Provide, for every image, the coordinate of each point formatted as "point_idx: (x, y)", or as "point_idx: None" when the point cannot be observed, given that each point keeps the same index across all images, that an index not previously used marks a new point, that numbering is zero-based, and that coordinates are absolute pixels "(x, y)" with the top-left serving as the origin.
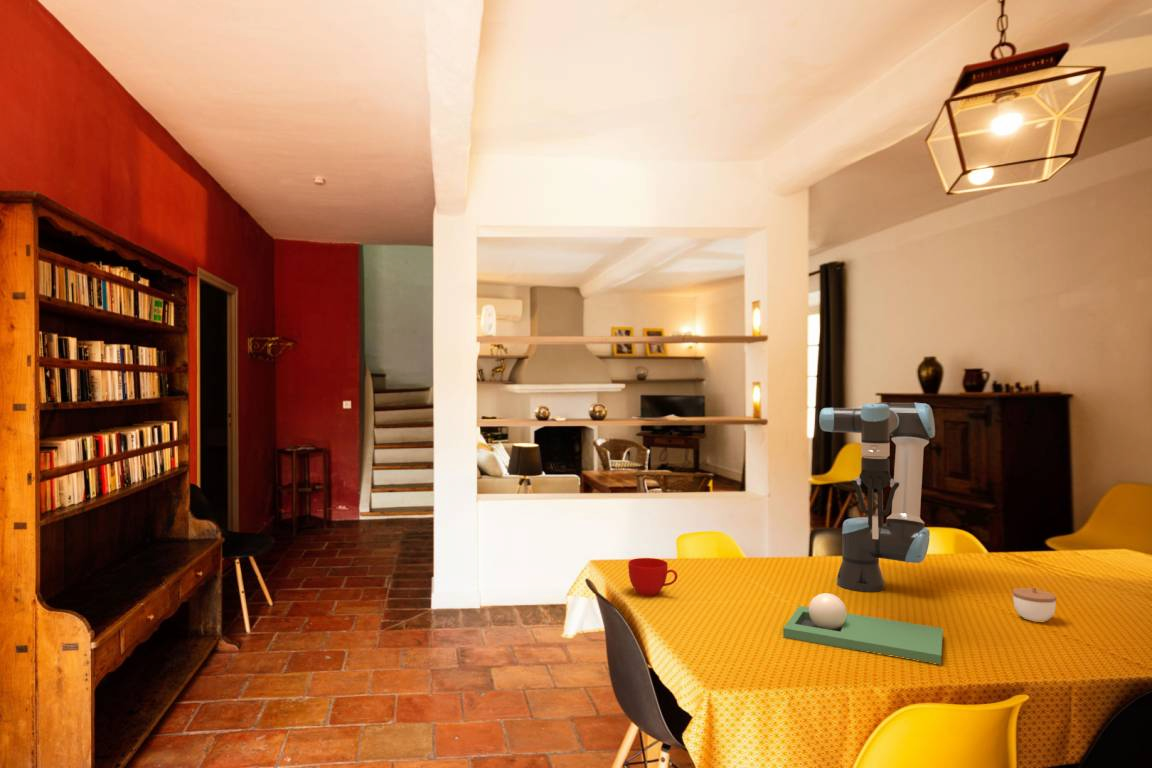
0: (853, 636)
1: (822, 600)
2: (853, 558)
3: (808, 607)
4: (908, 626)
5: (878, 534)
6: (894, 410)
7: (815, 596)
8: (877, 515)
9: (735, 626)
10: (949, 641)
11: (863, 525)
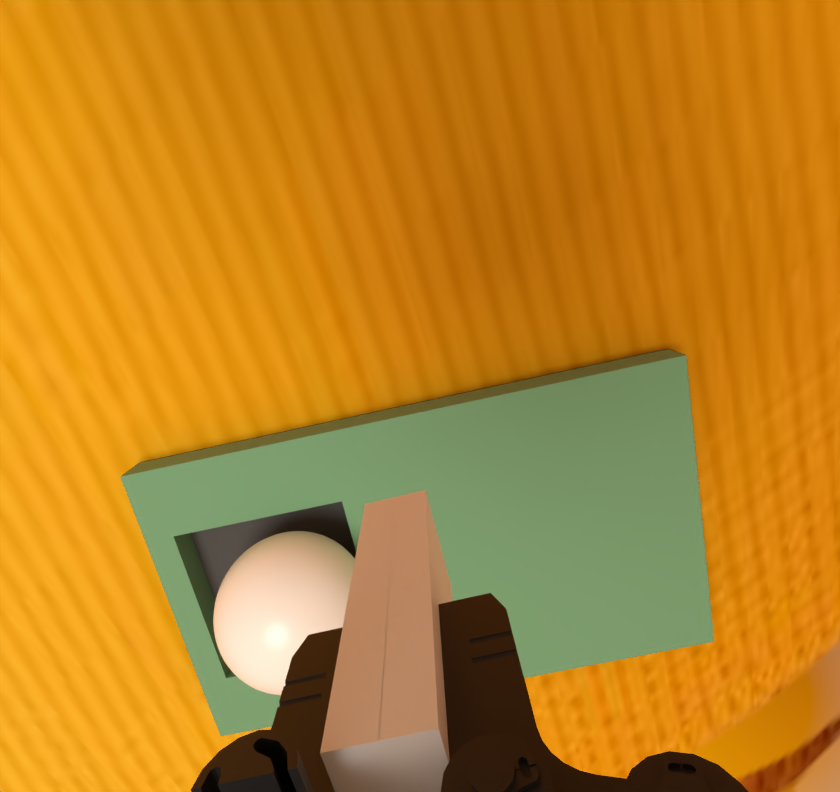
0: None
1: (280, 694)
2: None
3: (160, 472)
4: (566, 430)
5: (431, 528)
6: None
7: (227, 658)
8: (430, 770)
9: (63, 721)
10: (695, 377)
11: None
